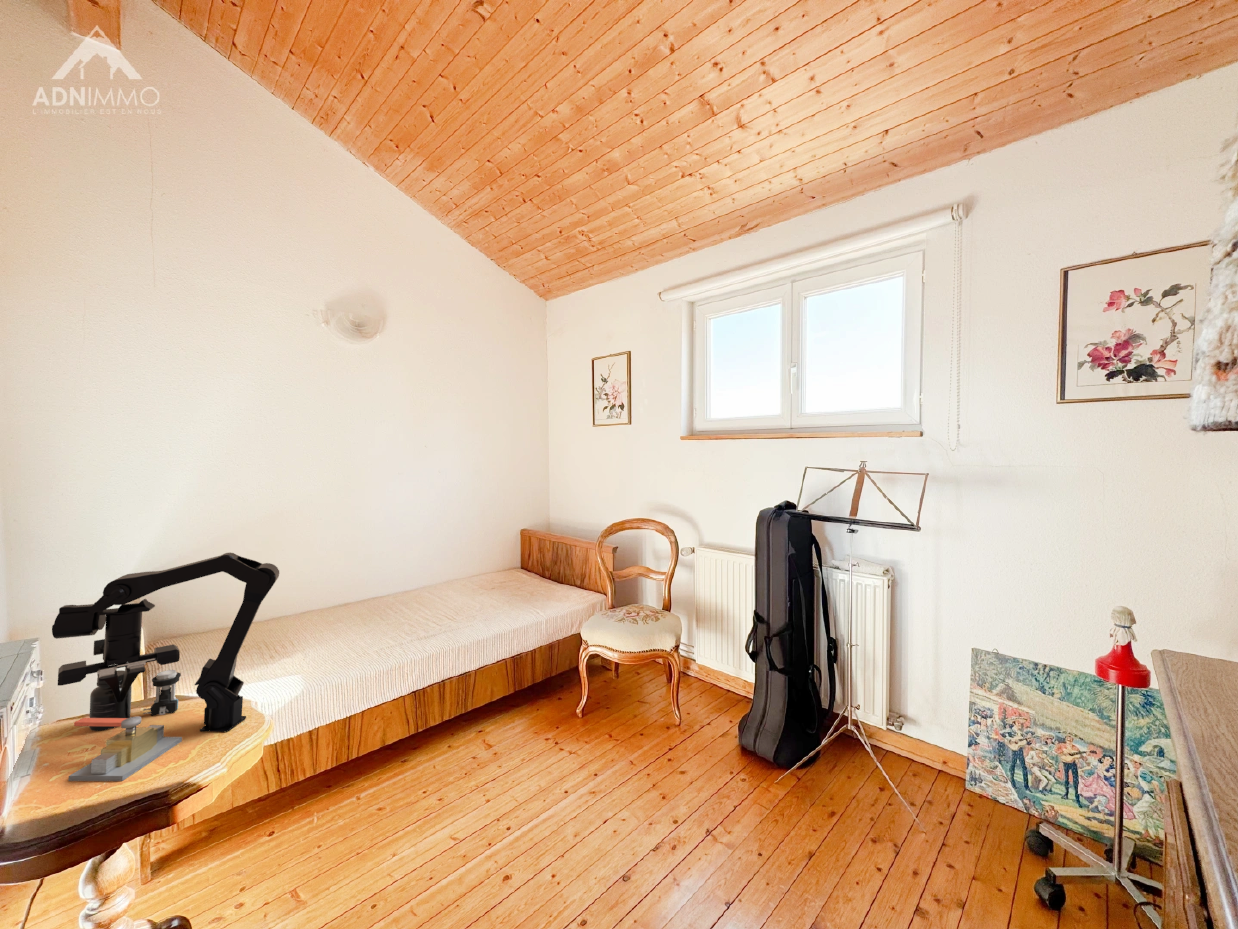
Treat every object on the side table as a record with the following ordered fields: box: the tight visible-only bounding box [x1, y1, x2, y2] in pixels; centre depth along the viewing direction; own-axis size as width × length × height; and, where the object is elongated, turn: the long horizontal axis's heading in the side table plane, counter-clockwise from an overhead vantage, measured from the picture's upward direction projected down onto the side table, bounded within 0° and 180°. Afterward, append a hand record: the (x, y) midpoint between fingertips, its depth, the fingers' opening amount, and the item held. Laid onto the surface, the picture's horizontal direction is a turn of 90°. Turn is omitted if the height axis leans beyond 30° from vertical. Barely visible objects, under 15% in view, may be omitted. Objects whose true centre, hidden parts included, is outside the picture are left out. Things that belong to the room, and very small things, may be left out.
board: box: [68, 736, 183, 782], centre depth 102 cm, size 10×14×1 cm
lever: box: [73, 715, 142, 730], centre depth 102 cm, size 12×3×1 cm, turn 94°
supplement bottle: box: [88, 669, 132, 732], centre depth 115 cm, size 7×7×12 cm
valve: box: [90, 724, 165, 774], centre depth 102 cm, size 5×13×6 cm, turn 4°
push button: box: [142, 669, 182, 716], centre depth 121 cm, size 7×5×10 cm
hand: (120, 701), depth 108 cm, fingers closed
